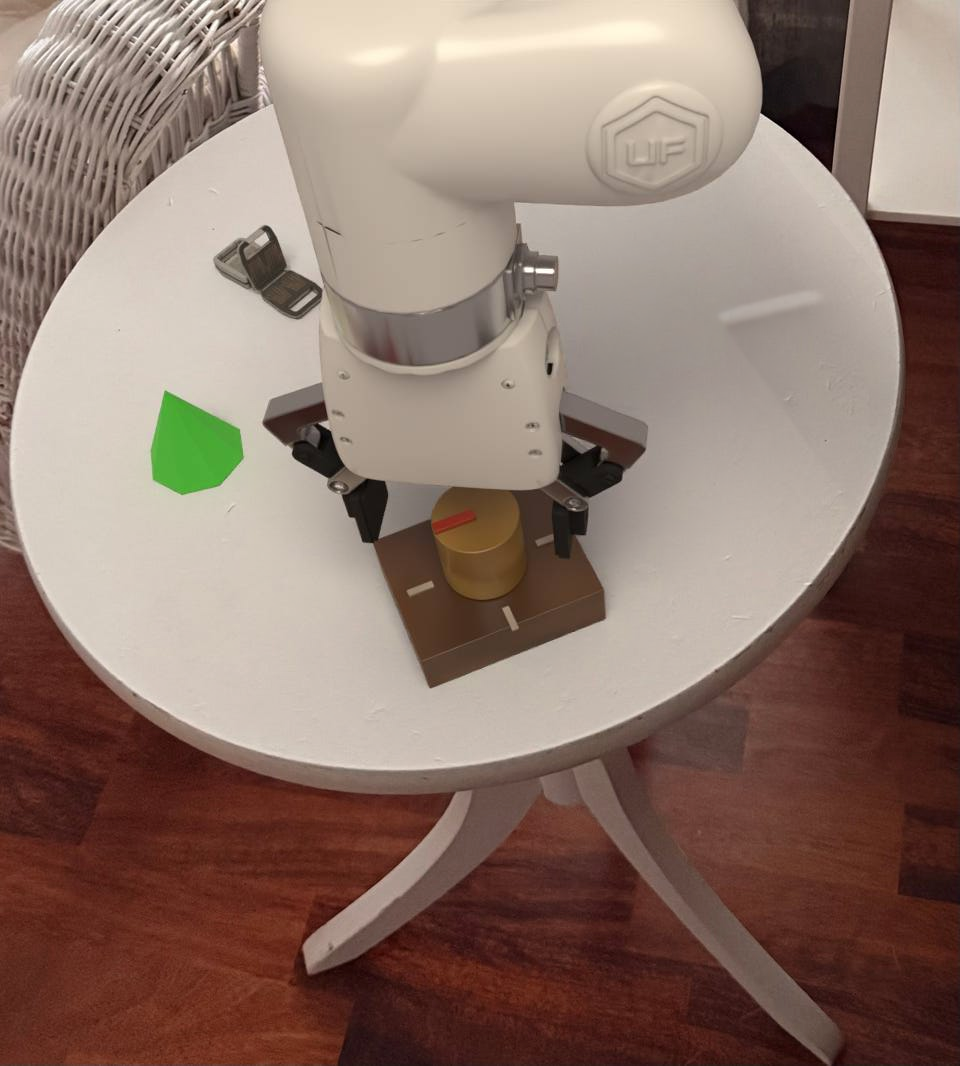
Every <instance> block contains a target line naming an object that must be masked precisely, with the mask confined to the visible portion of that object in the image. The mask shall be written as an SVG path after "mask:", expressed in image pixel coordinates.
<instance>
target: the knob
mask: <svg viewBox="0 0 960 1066" xmlns="http://www.w3.org/2000/svg"><path fill="white" fill-rule="evenodd" d="M430 515H431V517H430V519H431V525H432V530H433V534H434V538H435V542H436V545H437V549H438V553H439V557H440V561H441V565H442V568H443V572H444V576H445V578H446V580H447V582H448V584H449V585H450V586H451V587H452V588H453V589H454V590H455V591H456V592H458V593H459V594H461V595H463V596H465V597H468V598H471V599H477V600H488V599H494V598H497V597H500V596H502V595H505V594H506V593H508V592H510V591H511V590H512V589H514V588H515V587H516V586H517V585H518V583H519V582H520V581H521V579H522V578H523V576H524V573H525V571H526V567H527V556H526V549H525V543H524V536H523V530H522V523H521V517H520V510H519V506H518V503H517V501H516V499H515V497H514V496H513V495H512V494H511V492H509V491H508V490H501V489H483V488H468V487H453V486H451V487H450V488H449V489H447V490H446V491H445V492H443V493H442V494H441V496H439V498H438V499H437V501H436V502H435V504H434V506H433V507H432V512H431V514H430Z"/></svg>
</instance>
